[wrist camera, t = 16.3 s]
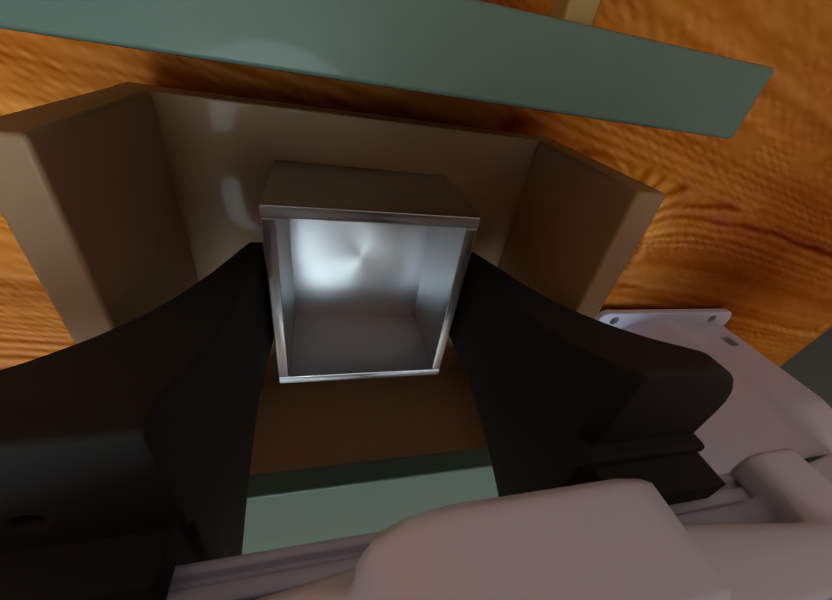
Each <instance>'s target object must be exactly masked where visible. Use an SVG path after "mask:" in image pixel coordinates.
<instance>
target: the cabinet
mask: <svg viewBox="0 0 832 600" xmlns="http://www.w3.org/2000/svg"><path fill="white" fill-rule="evenodd" d="M496 497H499V496H498V491H497V486H496V481H495V477H494V472H493V468H492V464H491V460H490V455H489V451H488V447H487V448H478V449H470V450H461V451H453V452H444V453H436V454H427V455H419V456H410V457H401V458H393V459H384V460H376V461H367V462H359V463H350V464H342V465H333V466H324V467H316V468H307V469H299V470H290V471H282V472H273V473H265V474H256V475H249V485H248V495H247V504H246V514H245V525H244V536H243V548H242V555H244V554H250V553H256V552H262V551H267V550H273V549H279V548H285V547H291V546H297V545H303V544H309V543H315V542H321V541H327V540H333V539H339V538H345V537H351V536H356V535H362V534H368V533H374V532H380V531H383V530H385V529H387V528H389V527H391V526H392V525H394V524H396V523H398V522H400V521H402V520H403V519H405V518H407V517H409V516H411V515H415V514H418V513H422V512H426V511H429V510H433V509H437V508H440V507H444V506H448V505H451V504H457V503H464V502H470V501H476V500H483V499H489V498H496Z"/></svg>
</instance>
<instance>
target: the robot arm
mask: <svg viewBox="0 0 832 600" xmlns="http://www.w3.org/2000/svg"><path fill="white" fill-rule="evenodd" d="M731 315H732V313H731V312H730V311H729V310H727V309H636V310H603V311H601V312H599V313H598V315H597V317H596V318H595V319H593V318H591V317H588V316H585V315H583V314H581V313H579V312H576V311H574V310H572V309H570V308H568V307H565V306H563V305H561V304H559V303H557V302H555V301H553V300H551V299H549V298H547V297H545V296H544V295H542V294H540V293H538V292H536V291H535V290H533V289H531V288H530V287H528V286H526V285H524V284H523V283H521V282H520V281H518V280H516V279H515V278H513V277H512V276H510V275H508V274H507V273H505V272H504V271H502V270H501V269H499V268H498V267H496V266H495V265H493V264H492V263H490V262H488V261H487V260H485V259H484V258H482V257H481V256H479V255H477V254H475V253H474V252H472V251H471V255H470V259H469V262H468V266H467V270H466V273H465V277H464V281H463V284H462V288H461V292H460V296H459V299H458V303H457V307H456V310H455V314H454V318H453V321H452V325H451V329H450V332H449V336H450V338H451V341H452V343H453V346H454V348H455V350H456V353H457V355H458V357H459V360H460V362H461V365H462V367H463V369H464V372H465V374H466V376H467V379H468V381H469V384H470V387H471V390H472V393H473V396H474V399H475V403H476V406H477V410H478V413H479V416H480V420H481V424H482V428H483V431H484V435H485V439H486V443H487V447H488V451H489V455H490V460H491V464H492V468H493V472H494V477H495V481H496V486H497V491H498V496H499V497H496V498H489V499H483V500H476V501H470V502H464V503H457V504H451V505H448V506H444V507H440V508H437V509H433V510H429V511H426V512H422V513H418V514H415V515H411V516H409V517H407V518H405V519H403V520H402V521H400V522H398V523H396V524H394V525H392V526H391V527H389V528H387V529H385V530H383V531H380V532H374V533H368V534H362V535H356V536H351V537H345V538H339V539H333V540H327V541H321V542H315V543H309V544H303V545H297V546H291V547H285V548H279V549H273V550H267V551H262V552H256V553H250V554H244V555H242V548H243V536H244V525H245V514H246V504H247V495H248V485H249V475H250V466H251V457H252V449H253V440H254V432H255V424H256V417H257V409H258V403H259V398H260V392H261V388H262V384H263V380H264V376H265V372H266V368H267V364H268V360H269V356H270V352H271V348H272V343H273V339H274V334H273V326H272V317H271V308H270V300H269V291H268V282H267V274H266V265H265V257H264V248H263V242H249V243H248V244H247V245H245V246H244V247H243V248H242V249H241V250H239V251H238V252H237V253H236V254H235V255H233V256H232V257H231V258H230V259H228V260H227V261H226V262H225V263H223V264H222V265H221V266H220V267H218V268H217V269H216V270H214V271H213V272H212V273H211V274H209V275H208V276H206V277H205V278H203V279H202V280H200V281H199V282H198V283H196V284H195V285H193V286H192V287H190V288H189V289H187V290H186V291H184V292H183V293H181V294H180V295H178V296H176V297H175V298H173V299H171V300H170V301H168V302H166V303H164V304H163V305H161V306H159V307H157V308H155V309H153V310H152V311H150V312H148V313H146V314H144V315H142V316H140V317H138V318H135V319H133V320H131V321H129V322H127V323H125V324H122V325H120V326H118V327H116V328H114V329H111V330H109V331H107V332H105V333H103V334H100V335H98V336H96V337H93V338H91V339H88V340H86V341H83V342H81V343H78V344H76V345H73V346H70V347H68V348H65V349H62V350H59V351H57V352H54V353H51V354H49V355H46V356H43V357H40V358H37V359H34V360H31V361H28V362H26V363H23V364H19V365H16V366H13V367H10V368H7V369H3V370H0V600H832V409H831V408H830V407H829V405H828V404H827V403H826V402H824V401H823V400H822V399H821V398H820V397H819V396H817V395H816V394H815V393H813V392H812V391H811V390H809V389H808V388H807V387H805V386H804V385H803V384H801V383H800V382H798V381H797V380H796V379H795V378H793V377H792V376H790V375H789V374H788V373H786V372H785V371H784V370H782V369H781V368H780V367H778V366H777V365H776V364H774V363H773V362H772V361H770V360H769V359H767V358H766V357H765V356H763V355H762V354H761V353H759V352H758V351H757V350H755V349H754V348H753V347H751V346H750V345H749V344H747V343H746V342H745V341H743V340H742V339H740V338H739V337H738V336H736V335H735V334H734V333H732V332H731V331H730V330H728V329H727V328H726V327H724V325H725V324H726V322H727V321H728V320H729V319H730V317H731Z"/></svg>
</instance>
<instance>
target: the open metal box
mask: <svg viewBox="0 0 832 600" xmlns="http://www.w3.org/2000/svg"><path fill="white" fill-rule="evenodd" d="M259 213H260V222H261V231H262V239H263V248H264V257H265V265H266V274H267V282H268V291H269V300H270V308H271V317H272V326H273V334H274V343H275V351H276V360H277V369H278V376H279V383H280V384H281V383H299V382H316V381H333V380H351V379H368V378H385V377H402V376H420V375H437V374H438V373H439V369H440V366H441V362H442V358H443V355H444V351H445V347H446V343H447V340H448V336H449V332H450V329H451V325H452V321H453V318H454V314H455V310H456V307H457V303H458V299H459V296H460V292H461V288H462V284H463V281H464V277H465V273H466V270H467V266H468V262H469V259H470V255H471V251H472V248H473V244H474V240H475V236H476V233H477V228H478V225H479V222H480V217H479V216H478V214H477V213H476V212H475V211H474V210H473V208H472V207H471V206H470V205H469V204H468V202H467V201H466V200H465V199H464V198H463V196H462V195H461V194H460V193H459V192H458V190H457V189H456V188H455V187H454V186H453V184H452V183H451V182H450V181H449V180H448V178H447V177H446V176H443V175H432V174H421V173H410V172H399V171H388V170H377V169H366V168H355V167H345V166H334V165H323V164H312V163H301V162H290V161H279V160H276V161H275V163H274V166H273V168H272V171H271V173H270V176H269V179H268V181H267V184H266V187H265V189H264V192H263V194H262V197H261V200H260V202H259Z"/></svg>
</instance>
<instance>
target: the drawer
mask: <svg viewBox="0 0 832 600" xmlns="http://www.w3.org/2000/svg"><path fill="white" fill-rule="evenodd" d="M600 1H601V0H554V2H553V5H552V9H551V12H550V16H546V15H542V14H537V13H533V12H529V11H524V10H520V9H516V8H511V7H507V6H503V5H498V4H494V3H489V2H485V1H481V0H0V28H1V29H8V30H15V31H21V32H28V33H34V34H41V35H47V36H54V37H61V38H67V39H74V40H80V41H87V42H93V43H100V44H107V45H113V46H120V47H126V48H133V49H140V50H146V51H153V52H159V53H166V54H172V55H179V56H186V57H192V58H199V59H205V60H212V61H218V62H225V63H232V64H238V65H245V66H251V67H258V68H265V69H271V70H278V71H284V72H291V73H297V74H304V75H311V76H317V77H324V78H330V79H337V80H343V81H350V82H357V83H363V84H370V85H376V86H383V87H390V88H396V89H403V90H409V91H416V92H422V93H429V94H436V95H442V96H449V97H455V98H462V99H468V100H475V101H482V102H488V103H495V104H501V105H508V106H515V107H521V108H528V109H534V110H541V111H547V112H554V113H561V114H567V115H574V116H580V117H587V118H593V119H600V120H607V121H613V122H620V123H626V124H633V125H640V126H646V127H653V128H659V129H666V130H672V131H679V132H686V133H692V134H699V135H705V136H712V137H718V138H725V139H729V138H732V137H733V136H734V134H735V133H736V131H737V129H738V128H739V126H740V125H741V123H742V121H743V120H744V118H745V117H746V115H747V113H748V112H749V110H750V109H751V107H752V105H753V104H754V102H755V101H756V99H757V97H758V96H759V94H760V93H761V91H762V89H763V88H764V86H765V85H766V83H767V81H768V80H769V78H770V77H771V75H772V73H773V71H774V69H773V68H771V67H768V66H763V65H759V64H754V63H750V62H746V61H741V60H737V59H733V58H728V57H724V56H720V55H715V54H711V53H707V52H702V51H698V50H694V49H689V48H685V47H681V46H676V45H672V44H668V43H663V42H659V41H655V40H650V39H646V38H642V37H637V36H633V35H628V34H624V33H620V32H615V31H611V30H607V29H602V28H598V27H594V26H592V24H593V21H594V19H595V16H596V13H597V10H598V7H599V4H600ZM276 160H279V161H290V162H301V163H312V164H323V165H334V166H345V167H355V168H366V169H377V170H388V171H399V172H410V173H421V174H432V175H443V176H446V177H447V178H448V180H449V181H450V182H451V183H452V184H453V186H454V187H455V188H456V189H457V190H458V192H459V193H460V194H461V195H462V196H463V198H464V199H465V200H466V201H467V202H468V204H469V205H470V206H471V207H472V208H473V210H474V211H475V212H476V213H477V214H478V216H479V217H480V222H479V225H478V228H477V233H476V236H475V240H474V244H473V248H472V252H474V253H475V254H477V255H479V256H481V257H482V258H484V259H485V260H487V261H488V262H490V263H492V264H493V265H495V266H496V267H498V268H499V269H501V270H502V271H504V272H505V273H507V274H508V275H510V276H512V277H513V278H515V279H516V280H518V281H520V282H521V283H523V284H524V285H526V286H528V287H530V288H531V289H533V290H535V291H536V292H538V293H540V294H542V295H544V296H545V297H547V298H549V299H551V300H553V301H555V302H557V303H559V304H561V305H563V306H565V307H568V308H570V309H572V310H574V311H576V312H579V313H581V314H583V315H585V316H588V317H591V318H593V319H595V318H596V317H597V315H598V313H599V311H600V310H601V308H602V306H603V304H604V303H605V301H606V299H607V297H608V296H609V294H610V292H611V290H612V289H613V287H614V285H615V283H616V282H617V280H618V278H619V276H620V275H621V273H622V271H623V269H624V268H625V266H626V264H627V262H628V261H629V259H630V257H631V256H632V254H633V252H634V250H635V249H636V247H637V245H638V243H639V242H640V240H641V238H642V236H643V235H644V233H645V231H646V229H647V228H648V226H649V224H650V222H651V221H652V219H653V217H654V215H655V214H656V212H657V210H658V208H659V207H660V205H661V203H662V201H663V200H664V198H665V194H664V193H662V192H660V191H658V190H656V189H654V188H652V187H650V186H648V185H646V184H644V183H642V182H640V181H637V180H635V179H633V178H631V177H629V176H627V175H625V174H623V173H621V172H619V171H617V170H615V169H612V168H610V167H608V166H606V165H604V164H602V163H600V162H598V161H596V160H594V159H592V158H589V157H587V156H585V155H583V154H581V153H579V152H577V151H575V150H573V149H571V148H569V147H566V146H564V145H562V144H560V143H559V142H557V141H555V140H553V139H551V138H548V137H543V136H536V135H528V134H521V133H513V132H505V131H498V130H490V129H482V128H475V127H467V126H460V125H452V124H444V123H437V122H429V121H421V120H414V119H406V118H399V117H391V116H383V115H376V114H368V113H360V112H353V111H345V110H338V109H330V108H322V107H315V106H307V105H299V104H292V103H284V102H277V101H269V100H261V99H254V98H246V97H238V96H231V95H223V94H216V93H208V92H200V91H193V90H185V89H177V88H170V87H162V86H154V85H147V84H139V83H132V82H126V83H122V84H118V85H114V86H113V87H110V88H106V89H102V90H98V91H95V92H91V93H87V94H83V95H79V96H76V97H72V98H68V99H64V100H60V101H57V102H53V103H49V104H45V105H41V106H38V107H34V108H30V109H26V110H23V111H19V112H15V113H11V114H7V115H4V116H0V211H1V213H2V214H3V216H4V218H5V220H6V222H7V223H8V225H9V227H10V229H11V230H12V232H13V234H14V236H15V237H16V239H17V241H18V243H19V245H20V246H21V248H22V250H23V252H24V253H25V255H26V257H27V259H28V260H29V262H30V264H31V266H32V268H33V269H34V271H35V273H36V275H37V276H38V278H39V280H40V282H41V284H42V285H43V287H44V289H45V291H46V292H47V294H48V296H49V298H50V299H51V301H52V303H53V305H54V307H55V308H56V310H57V312H58V314H59V315H60V317H61V319H62V321H63V323H64V324H65V326H66V328H67V330H68V331H69V333H70V335H71V337H72V338H73V340H74V342H75V344H78V343H81V342H83V341H86V340H88V339H91V338H93V337H96V336H98V335H100V334H103V333H105V332H107V331H109V330H111V329H114V328H116V327H118V326H120V325H122V324H125V323H127V322H129V321H131V320H133V319H135V318H138V317H140V316H142V315H144V314H146V313H148V312H150V311H152V310H153V309H155V308H157V307H159V306H161V305H163V304H164V303H166V302H168V301H170V300H171V299H173V298H175V297H176V296H178V295H180V294H181V293H183V292H184V291H186V290H187V289H189V288H190V287H192V286H193V285H195V284H196V283H198V282H199V281H200V280H202V279H203V278H205V277H206V276H208V275H209V274H211V273H212V272H213V271H214V270H216V269H217V268H218V267H220V266H221V265H222V264H223V263H225V262H226V261H227V260H228V259H230V258H231V257H232V256H233V255H235V254H236V253H237V252H238V251H239V250H241V249H242V248H243V247H244V246H245V245H247V244H248V243H249V242H263V239H262V231H261V222H260V213H259V202H260V200H261V197H262V194H263V192H264V189H265V187H266V184H267V181H268V179H269V176H270V173H271V171H272V168H273V166H274V163H275V161H276ZM478 448H487V443H486V439H485V435H484V431H483V428H482V424H481V420H480V416H479V413H478V410H477V406H476V403H475V399H474V396H473V393H472V390H471V387H470V384H469V381H468V379H467V376H466V374H465V372H464V369H463V367H462V365H461V362H460V360H459V357H458V355H457V353H456V350H455V348H454V346H453V343H452V341H451V338H450V336H448V340H447V343H446V347H445V351H444V355H443V358H442V362H441V366H440V369H439V373H438V374H437V375H420V376H402V377H385V378H368V379H351V380H333V381H316V382H299V383H281V384H280V383H279V376H278V369H277V360H276V351H275V343H274V339H273V343H272V348H271V352H270V356H269V360H268V364H267V368H266V372H265V376H264V380H263V384H262V388H261V392H260V398H259V403H258V409H257V417H256V424H255V432H254V440H253V449H252V457H251V466H250V475H256V474H265V473H273V472H282V471H290V470H299V469H307V468H316V467H324V466H333V465H342V464H350V463H359V462H367V461H376V460H384V459H393V458H401V457H410V456H419V455H427V454H436V453H444V452H453V451H461V450H470V449H478Z"/></svg>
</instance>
